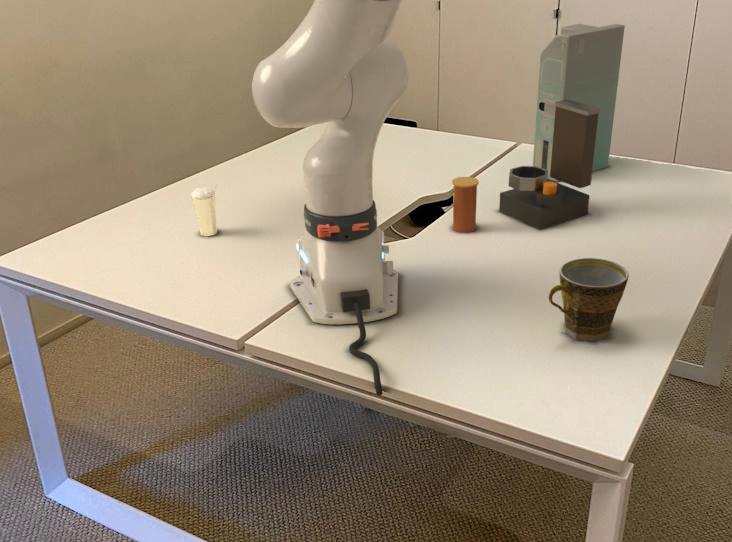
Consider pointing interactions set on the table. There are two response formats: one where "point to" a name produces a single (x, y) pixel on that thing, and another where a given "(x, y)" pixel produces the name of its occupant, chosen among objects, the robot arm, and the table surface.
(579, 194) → the base
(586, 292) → the ceramic cup
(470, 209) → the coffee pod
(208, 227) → the milkshake
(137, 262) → the table surface
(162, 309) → the table surface
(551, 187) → the power button
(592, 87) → the device
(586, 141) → the coffee maker
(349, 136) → the robot arm
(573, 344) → the table surface
